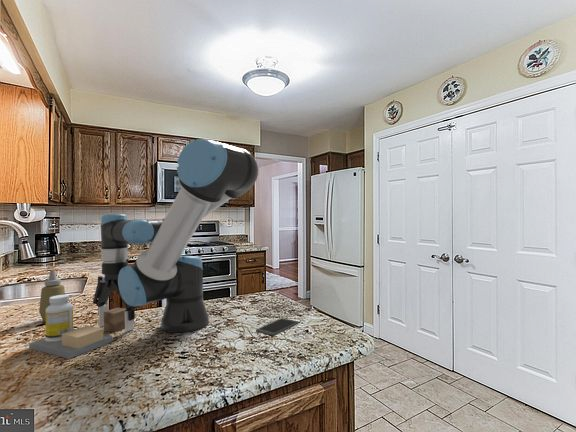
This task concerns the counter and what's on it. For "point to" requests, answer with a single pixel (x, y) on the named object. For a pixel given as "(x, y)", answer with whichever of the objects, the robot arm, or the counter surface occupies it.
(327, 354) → the counter surface
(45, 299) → the squeeze bottle
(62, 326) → the pill bottle
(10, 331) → the counter surface
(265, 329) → the cell phone
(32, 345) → the board
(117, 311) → the walnut block
